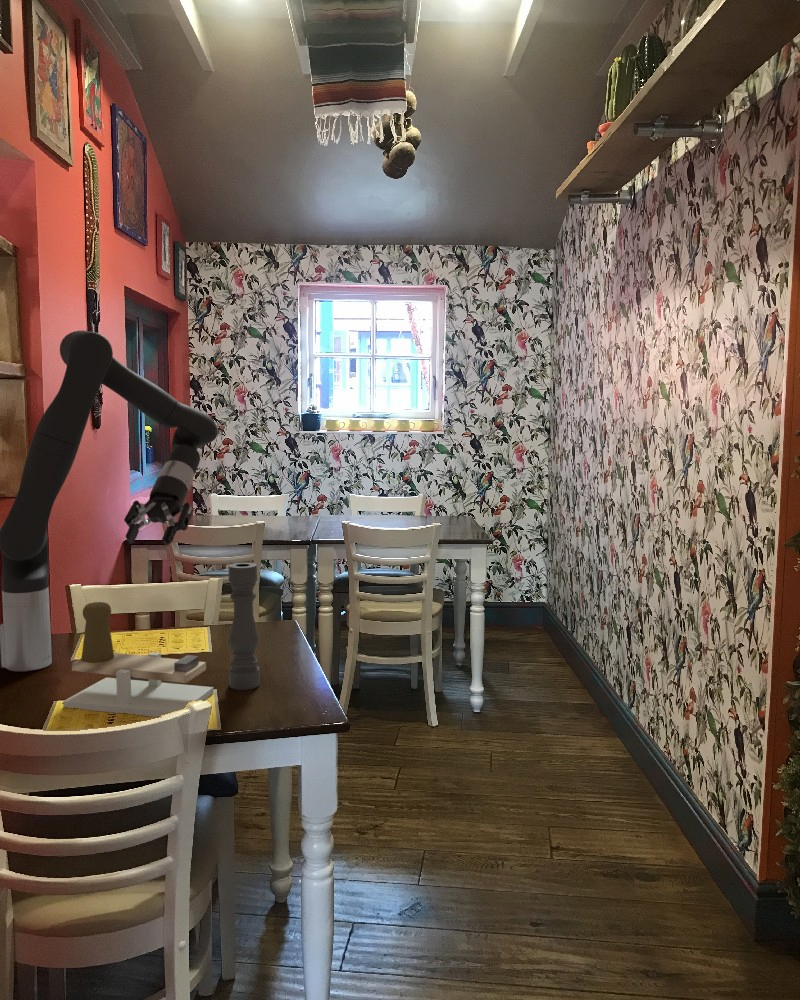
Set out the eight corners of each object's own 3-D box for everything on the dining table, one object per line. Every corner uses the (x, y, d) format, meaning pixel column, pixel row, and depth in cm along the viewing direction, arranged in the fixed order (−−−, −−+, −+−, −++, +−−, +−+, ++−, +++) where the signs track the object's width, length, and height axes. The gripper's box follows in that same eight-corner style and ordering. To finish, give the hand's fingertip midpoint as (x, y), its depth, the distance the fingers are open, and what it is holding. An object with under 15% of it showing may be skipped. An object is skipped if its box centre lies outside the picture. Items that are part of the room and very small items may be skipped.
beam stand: (63, 707, 151) (61, 668, 150) (106, 683, 164) (105, 647, 163) (178, 719, 145) (177, 678, 144) (213, 693, 159) (212, 656, 158)
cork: (102, 664, 152) (101, 608, 151) (74, 661, 154) (73, 605, 152) (120, 654, 158) (119, 600, 157) (93, 652, 160) (92, 598, 158)
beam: (72, 674, 153) (71, 654, 152) (96, 661, 161) (96, 643, 160) (186, 687, 148) (186, 667, 147) (206, 673, 155) (206, 654, 155)
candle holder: (230, 691, 160) (228, 568, 157) (228, 681, 166) (226, 563, 163) (261, 688, 162) (259, 567, 159) (258, 678, 167) (256, 561, 165)
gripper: (138, 473, 181) (110, 530, 171) (195, 475, 177) (170, 533, 168) (151, 494, 186) (124, 550, 176) (207, 496, 183) (183, 554, 173)
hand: (147, 542), depth 172 cm, fingers open, 8 cm apart
